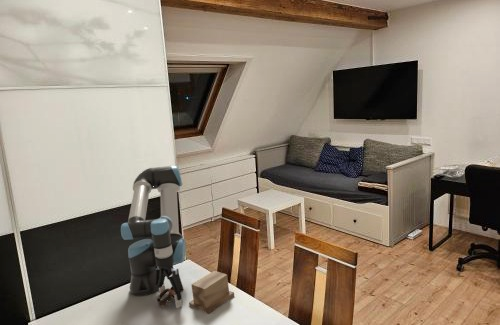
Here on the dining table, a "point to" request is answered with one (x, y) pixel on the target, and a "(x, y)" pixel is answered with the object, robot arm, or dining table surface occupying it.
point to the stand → (210, 292)
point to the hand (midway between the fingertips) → (171, 303)
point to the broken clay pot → (168, 297)
